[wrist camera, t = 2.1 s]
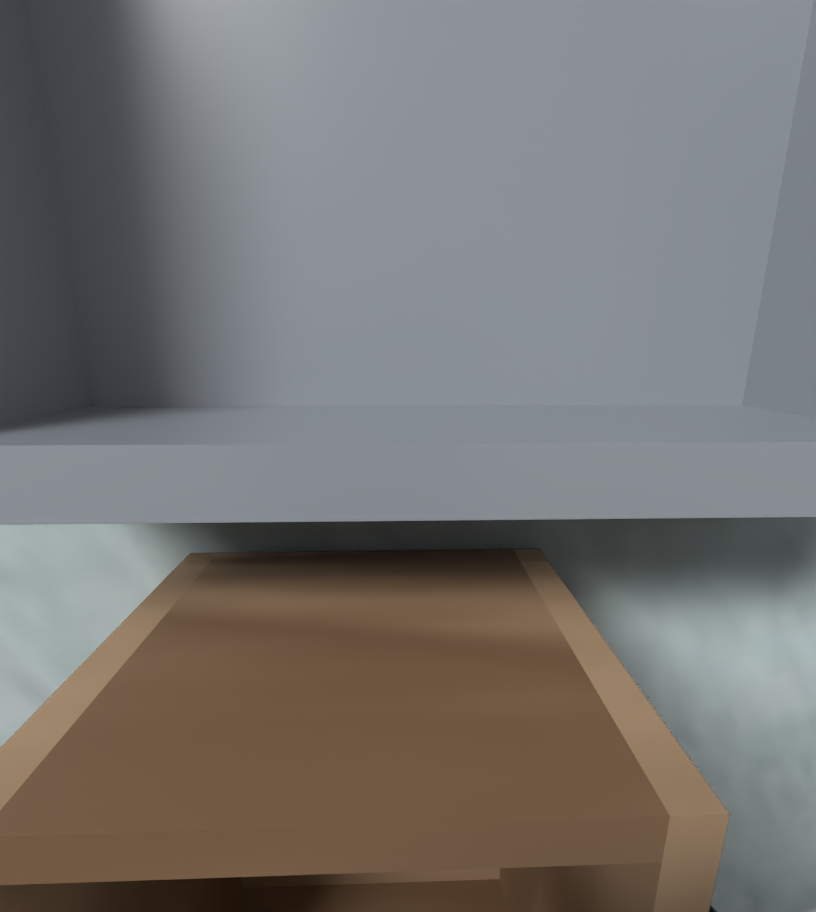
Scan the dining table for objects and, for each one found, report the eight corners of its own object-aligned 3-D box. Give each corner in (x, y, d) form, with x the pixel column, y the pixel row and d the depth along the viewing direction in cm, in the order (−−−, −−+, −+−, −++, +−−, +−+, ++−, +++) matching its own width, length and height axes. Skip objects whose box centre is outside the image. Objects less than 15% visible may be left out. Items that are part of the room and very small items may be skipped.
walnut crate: (514, 870, 10) (620, 1322, 6) (229, 879, 10) (82, 1357, 5) (539, 549, 9) (730, 814, 4) (190, 553, 8) (-90, 839, 4)
